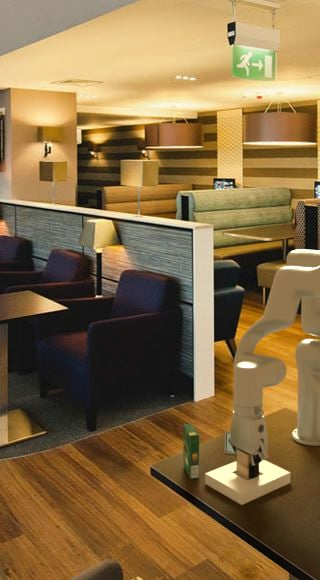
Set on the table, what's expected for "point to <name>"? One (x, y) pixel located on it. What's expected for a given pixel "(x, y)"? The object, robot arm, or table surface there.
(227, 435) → the smartphone
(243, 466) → the plug
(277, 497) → the table surface
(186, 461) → the coffee box
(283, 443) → the table surface
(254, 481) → the socket plate
